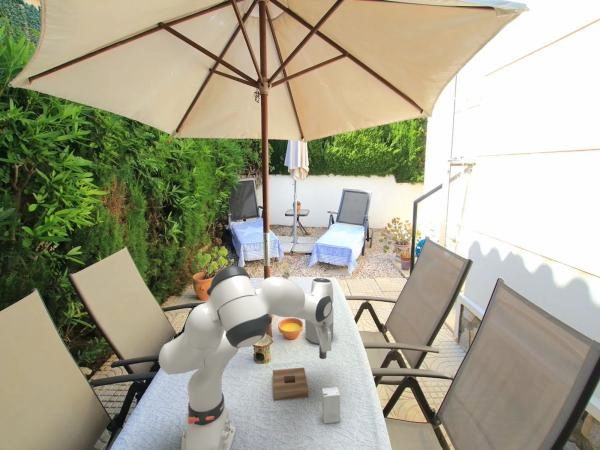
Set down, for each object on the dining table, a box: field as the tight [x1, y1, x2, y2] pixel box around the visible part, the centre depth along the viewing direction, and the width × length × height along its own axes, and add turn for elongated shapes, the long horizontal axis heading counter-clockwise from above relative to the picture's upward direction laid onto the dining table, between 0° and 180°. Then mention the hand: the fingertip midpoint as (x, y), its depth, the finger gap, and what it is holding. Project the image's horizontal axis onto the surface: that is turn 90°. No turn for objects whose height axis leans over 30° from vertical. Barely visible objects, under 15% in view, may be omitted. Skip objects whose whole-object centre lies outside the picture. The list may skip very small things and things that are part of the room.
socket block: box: [272, 367, 309, 401], centre depth 137 cm, size 14×14×4 cm
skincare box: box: [321, 386, 341, 424], centre depth 119 cm, size 6×4×12 cm
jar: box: [304, 314, 335, 345], centre depth 168 cm, size 19×15×25 cm
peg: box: [318, 341, 328, 360], centre depth 132 cm, size 3×3×10 cm
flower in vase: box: [279, 261, 291, 280], centre depth 223 cm, size 13×11×25 cm
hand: (322, 347), depth 132 cm, fingers closed on peg, 3 cm apart
